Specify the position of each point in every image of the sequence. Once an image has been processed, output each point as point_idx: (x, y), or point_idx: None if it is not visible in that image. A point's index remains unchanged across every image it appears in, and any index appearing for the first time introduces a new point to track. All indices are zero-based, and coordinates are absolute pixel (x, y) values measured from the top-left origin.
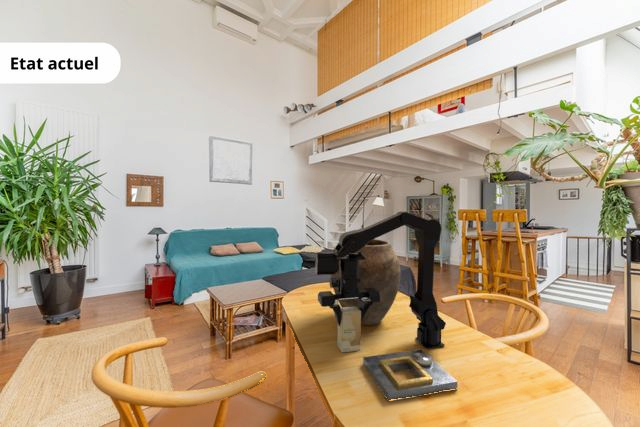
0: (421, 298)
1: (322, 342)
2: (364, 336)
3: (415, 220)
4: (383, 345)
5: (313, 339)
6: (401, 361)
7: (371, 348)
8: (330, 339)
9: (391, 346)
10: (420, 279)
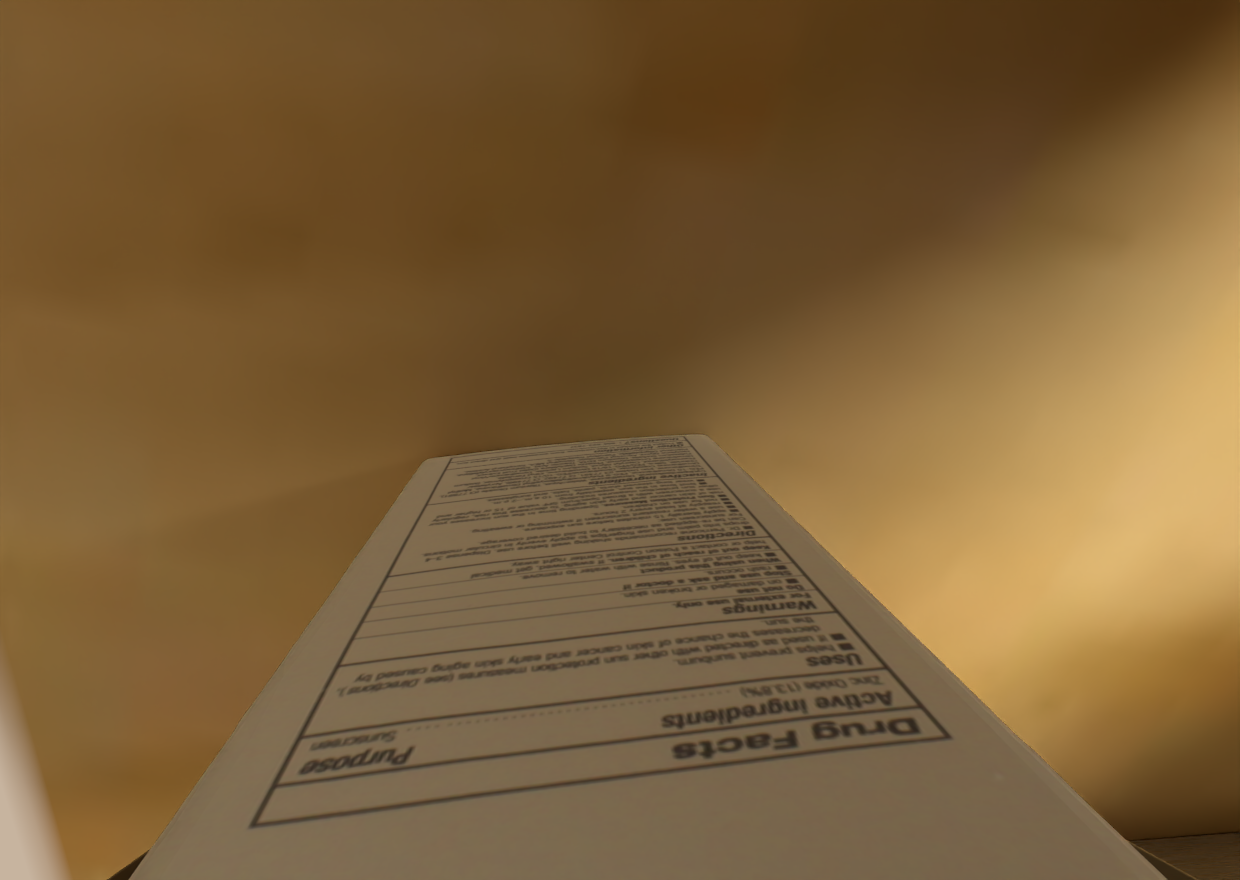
0: None
1: (204, 295)
2: (939, 244)
3: None
4: (1067, 549)
5: (46, 155)
6: None
7: (878, 592)
8: (356, 222)
9: (1149, 590)
10: None
